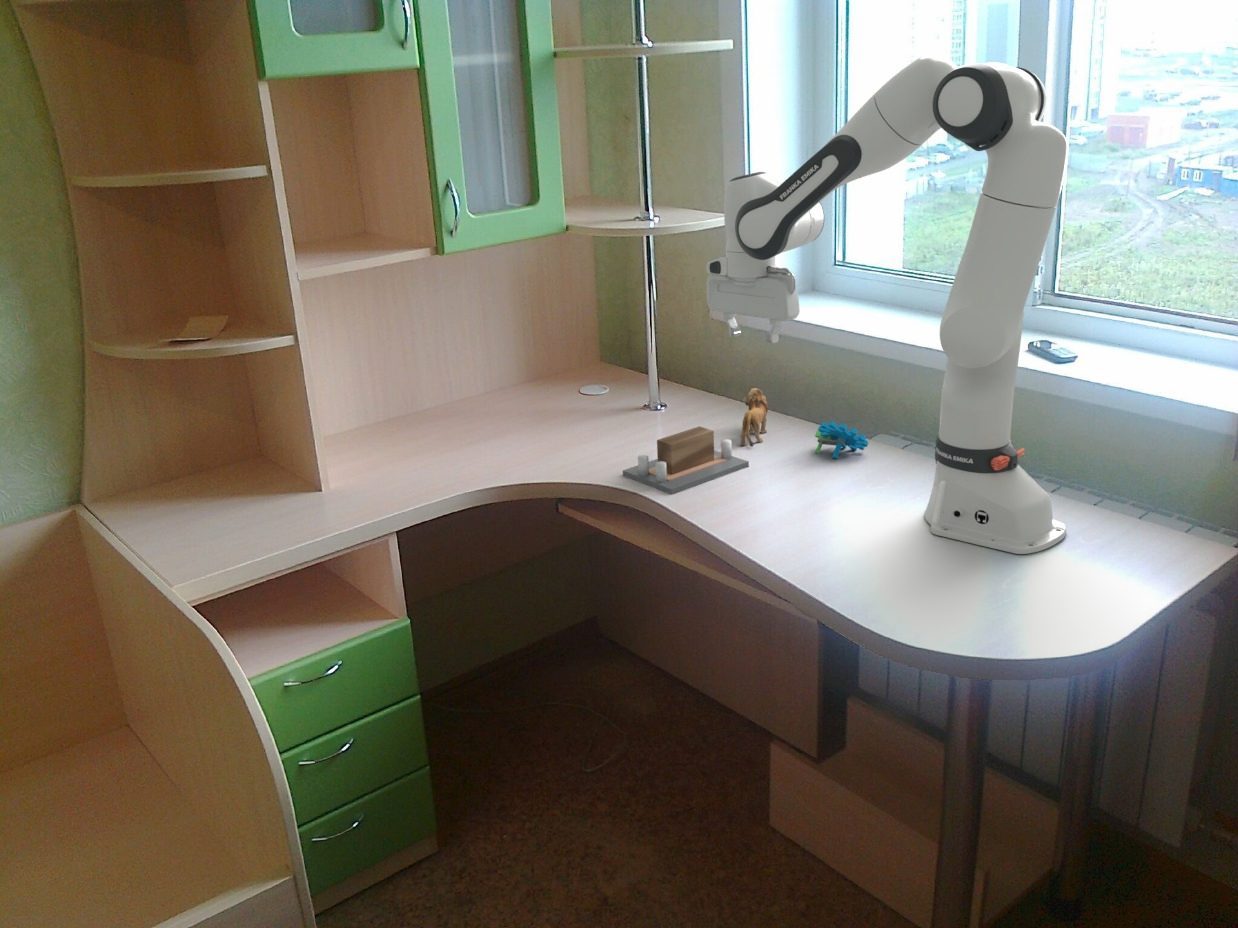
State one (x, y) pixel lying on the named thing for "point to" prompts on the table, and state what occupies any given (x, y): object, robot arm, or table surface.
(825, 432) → the blue spiky animal toy
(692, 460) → the block
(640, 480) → the cradle
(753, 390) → the lion figurine
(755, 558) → the table surface
